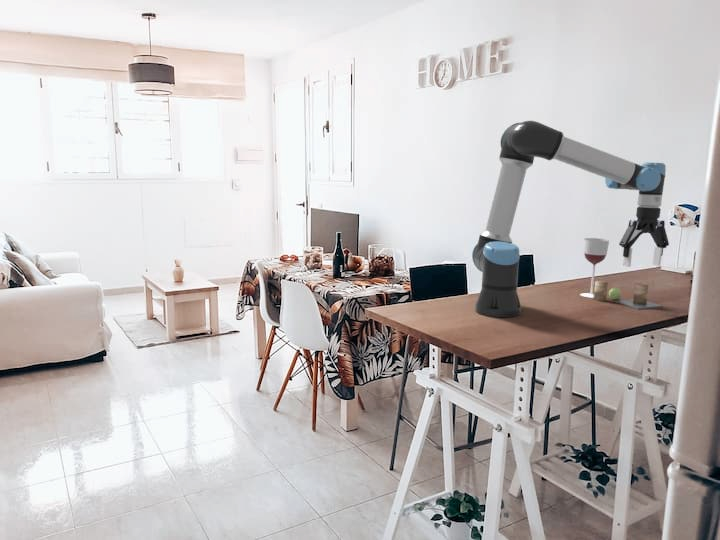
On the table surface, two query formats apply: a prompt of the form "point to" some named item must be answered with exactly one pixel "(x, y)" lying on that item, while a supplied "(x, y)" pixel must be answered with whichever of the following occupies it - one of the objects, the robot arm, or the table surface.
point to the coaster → (638, 306)
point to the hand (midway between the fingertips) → (641, 265)
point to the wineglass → (594, 256)
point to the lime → (615, 293)
